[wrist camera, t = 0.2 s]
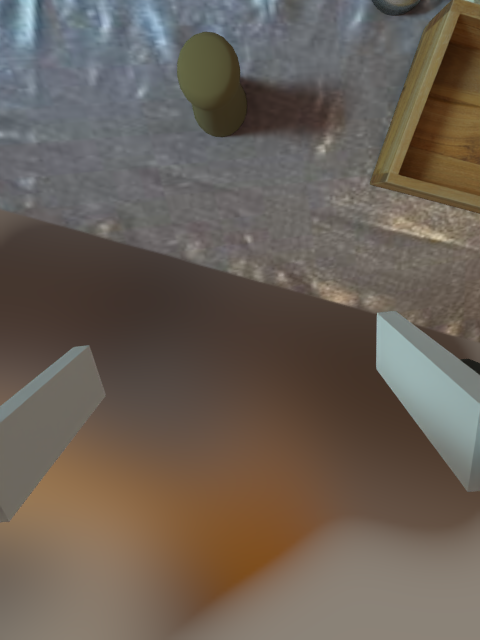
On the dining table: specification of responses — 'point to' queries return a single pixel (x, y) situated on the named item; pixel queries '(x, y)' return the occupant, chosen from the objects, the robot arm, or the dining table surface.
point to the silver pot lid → (395, 6)
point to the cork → (212, 83)
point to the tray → (439, 115)
